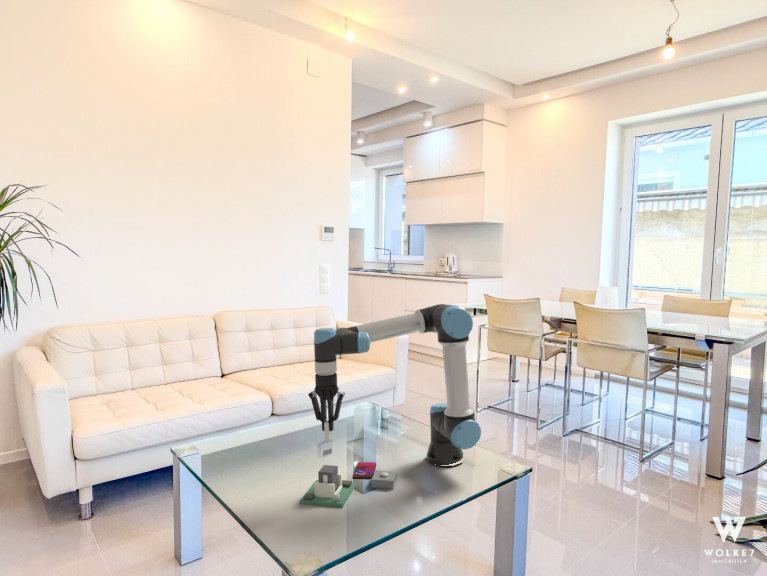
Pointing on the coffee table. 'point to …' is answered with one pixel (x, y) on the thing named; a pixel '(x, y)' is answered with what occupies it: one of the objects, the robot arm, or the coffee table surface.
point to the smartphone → (364, 470)
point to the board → (328, 493)
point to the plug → (329, 475)
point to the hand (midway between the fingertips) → (328, 439)
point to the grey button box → (384, 479)
